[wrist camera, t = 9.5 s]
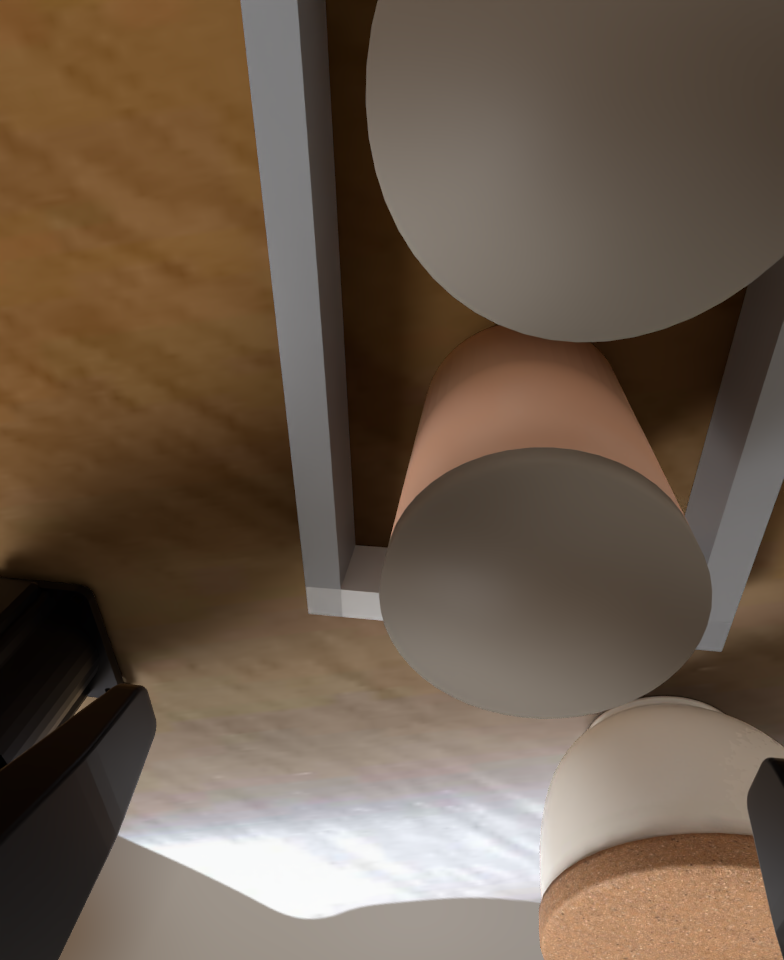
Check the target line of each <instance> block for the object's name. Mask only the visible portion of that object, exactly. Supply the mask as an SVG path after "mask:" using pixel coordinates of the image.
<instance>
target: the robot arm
mask: <svg viewBox="0 0 784 960" xmlns="http://www.w3.org/2000/svg"><path fill="white" fill-rule="evenodd" d="M87 696H88V697H97V699H96V700H95V701H93V702H92V703H91V704H89V705H88V706H86V707H85V708H84V709H82V710H81V711H80V712H78V713H77V714H76V715H74V714H75V712H76V711H77V710H78V708H79V707H80V706H81V704H82V703H83V701H84V700H85V699H86V697H87ZM73 715H74V716H73ZM155 732H156V718H155V715H154V711H153V708H152V705H151V701H150V698H149V694H148V691H147V689H146V688H145V687H144V686H141V685H132V684H124V682H123V679H122V676H121V673H120V670H119V667H118V664H117V661H116V658H115V655H114V652H113V650H112V647H111V644H110V641H109V638H108V635H107V632H106V629H105V626H104V623H103V620H102V617H101V614H100V611H99V608H98V605H97V603H96V600H95V597H94V594H93V592H92V591H91V590H90V589H89V588H87V587H86V586H83V585H79V584H68V583H57V582H46V581H35V580H24V579H12V578H1V577H0V960H58V959H59V957H60V955H61V953H62V951H63V949H64V946H65V945H66V942H67V940H68V938H69V936H70V934H71V932H72V930H73V928H74V926H75V924H76V922H77V919H78V917H79V915H80V913H81V911H82V909H83V907H84V905H85V903H86V901H87V898H88V897H89V894H90V893H91V890H92V888H93V886H94V884H95V882H96V880H97V878H98V876H99V874H100V872H101V870H102V867H103V866H104V863H105V861H106V859H107V857H108V855H109V853H110V851H111V849H112V846H113V844H114V842H115V840H116V838H117V835H118V833H119V830H120V828H121V825H122V823H123V820H124V818H125V815H126V812H127V809H128V807H129V804H130V801H131V799H132V796H133V793H134V790H135V788H136V785H137V782H138V780H139V777H140V774H141V771H142V769H143V766H144V763H145V760H146V758H147V755H148V752H149V750H150V747H151V744H152V741H153V739H154V736H155ZM747 810H748V815H749V819H750V824H751V828H752V833H753V837H754V842H755V846H756V851H757V855H758V860H759V864H760V869H761V873H762V878H763V882H764V887H765V891H766V896H767V900H768V905H769V909H770V914H771V918H772V922H773V926H774V930H775V934H776V937H777V940H778V944H779V947H780V950H781V954H782V957H783V960H784V759H782V758H774V757H768V758H766V759H765V760H763V762H762V763H761V765H760V767H759V770H758V772H757V774H756V776H755V778H754V780H753V782H752V784H751V786H750V788H749V791H748V794H747Z"/></svg>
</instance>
